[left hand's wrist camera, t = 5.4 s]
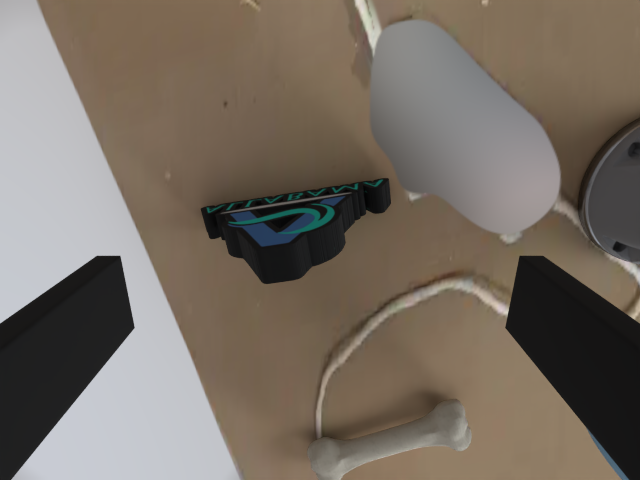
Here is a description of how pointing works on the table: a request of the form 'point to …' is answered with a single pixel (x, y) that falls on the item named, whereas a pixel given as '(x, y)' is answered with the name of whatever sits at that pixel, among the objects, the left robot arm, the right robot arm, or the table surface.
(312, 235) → the decorative sign
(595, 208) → the left robot arm
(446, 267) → the table surface
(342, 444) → the dog toy
